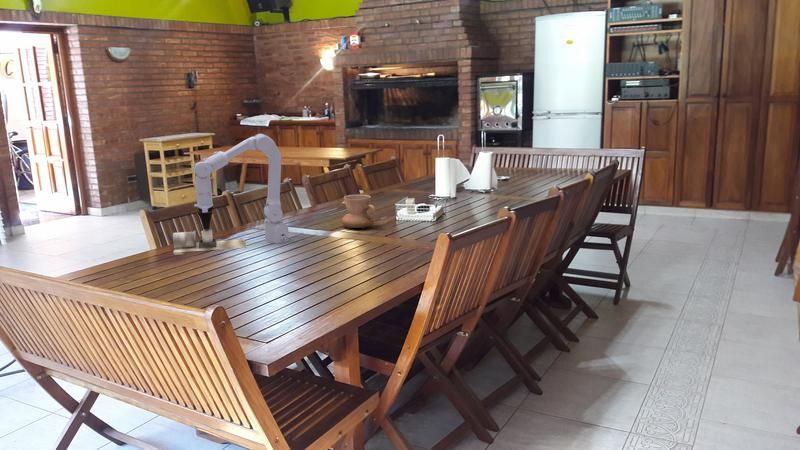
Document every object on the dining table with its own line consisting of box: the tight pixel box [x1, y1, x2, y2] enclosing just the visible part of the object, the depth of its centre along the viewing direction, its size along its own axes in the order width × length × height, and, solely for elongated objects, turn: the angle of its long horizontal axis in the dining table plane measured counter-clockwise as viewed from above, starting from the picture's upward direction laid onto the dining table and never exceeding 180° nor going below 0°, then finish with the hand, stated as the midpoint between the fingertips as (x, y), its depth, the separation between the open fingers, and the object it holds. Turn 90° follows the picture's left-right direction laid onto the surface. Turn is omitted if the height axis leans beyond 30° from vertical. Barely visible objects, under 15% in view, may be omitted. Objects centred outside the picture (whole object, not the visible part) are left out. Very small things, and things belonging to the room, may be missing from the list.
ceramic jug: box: [341, 194, 376, 229], centre depth 285 cm, size 18×14×14 cm
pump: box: [201, 228, 214, 243], centre depth 250 cm, size 4×4×7 cm
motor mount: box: [172, 230, 247, 256], centre depth 251 cm, size 27×14×7 cm, turn 106°
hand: (206, 227), depth 249 cm, fingers open, 7 cm apart
